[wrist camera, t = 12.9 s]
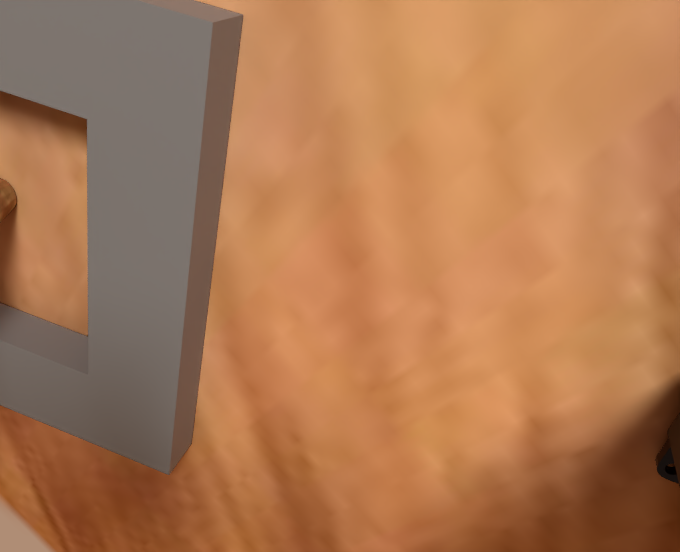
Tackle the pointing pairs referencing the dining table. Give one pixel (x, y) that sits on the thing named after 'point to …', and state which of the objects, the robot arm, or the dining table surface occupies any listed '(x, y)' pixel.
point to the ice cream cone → (6, 199)
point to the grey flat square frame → (127, 213)
